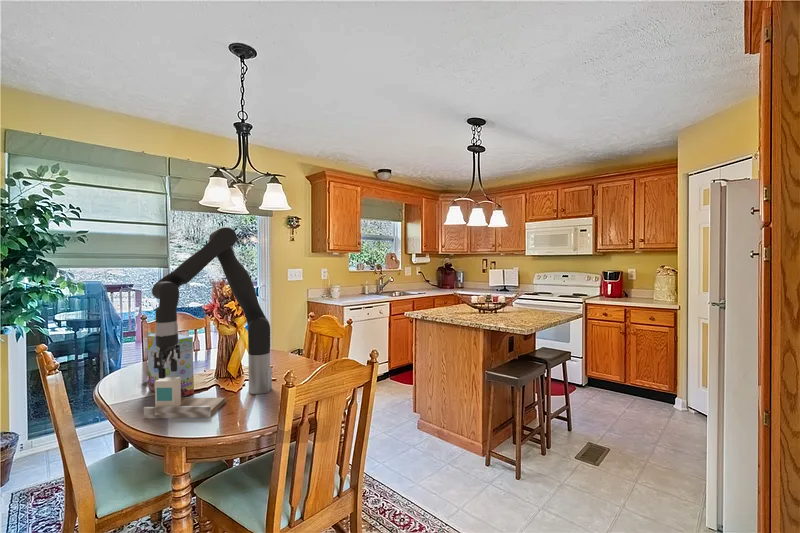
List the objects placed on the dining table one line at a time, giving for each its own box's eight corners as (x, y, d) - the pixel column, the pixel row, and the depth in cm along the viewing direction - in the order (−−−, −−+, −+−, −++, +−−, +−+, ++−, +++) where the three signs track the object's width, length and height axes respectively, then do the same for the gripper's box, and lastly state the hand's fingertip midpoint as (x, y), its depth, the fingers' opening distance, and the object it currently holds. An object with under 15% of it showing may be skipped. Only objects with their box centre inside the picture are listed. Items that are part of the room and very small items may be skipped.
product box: (162, 404, 152) (162, 377, 152) (180, 404, 153) (180, 377, 152) (155, 410, 147) (154, 381, 147) (174, 409, 148) (173, 381, 147)
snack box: (146, 391, 173) (145, 334, 173) (165, 385, 181) (165, 331, 180) (176, 400, 163) (175, 339, 162) (195, 393, 171) (194, 335, 170)
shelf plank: (225, 402, 160) (225, 392, 160) (209, 417, 145) (209, 407, 145) (166, 403, 159) (165, 393, 159) (143, 418, 144) (143, 408, 144)
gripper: (166, 329, 156) (168, 369, 156) (145, 337, 142) (147, 381, 142) (186, 329, 156) (187, 369, 157) (166, 336, 142) (168, 380, 143)
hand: (168, 374), depth 150 cm, fingers open, 8 cm apart
